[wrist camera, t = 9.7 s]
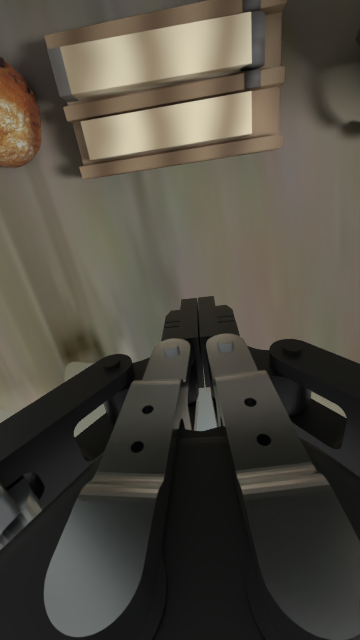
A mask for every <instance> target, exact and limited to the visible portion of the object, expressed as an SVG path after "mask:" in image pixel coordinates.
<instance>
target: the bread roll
mask: <svg viewBox="0 0 360 640" xmlns="http://www.w3.org/2000/svg"><path fill="white" fill-rule="evenodd" d="M40 128H41V122H40V112H39V106H38V104H37V102H36V98H35V95H34V94H33V92H32V91H31V89H30V88H29V86H28V83H27V81H26V80H25V79H24V77H23V76H22V75H21V74H20V73H19V72H18V71H16V70H15V69H14V68H13V67H12V66H11V65H9V64H8V63H7V62H5V61H4V59H3V58H2V57H0V166H2V167H7V168H17V167H21V166H24V165H25V164H27V163H28V162H30V161H31V160H32V159H33V158H34V156H35V155H36V153H37V152H38V150H39V148H40V145H41V129H40Z"/></svg>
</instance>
